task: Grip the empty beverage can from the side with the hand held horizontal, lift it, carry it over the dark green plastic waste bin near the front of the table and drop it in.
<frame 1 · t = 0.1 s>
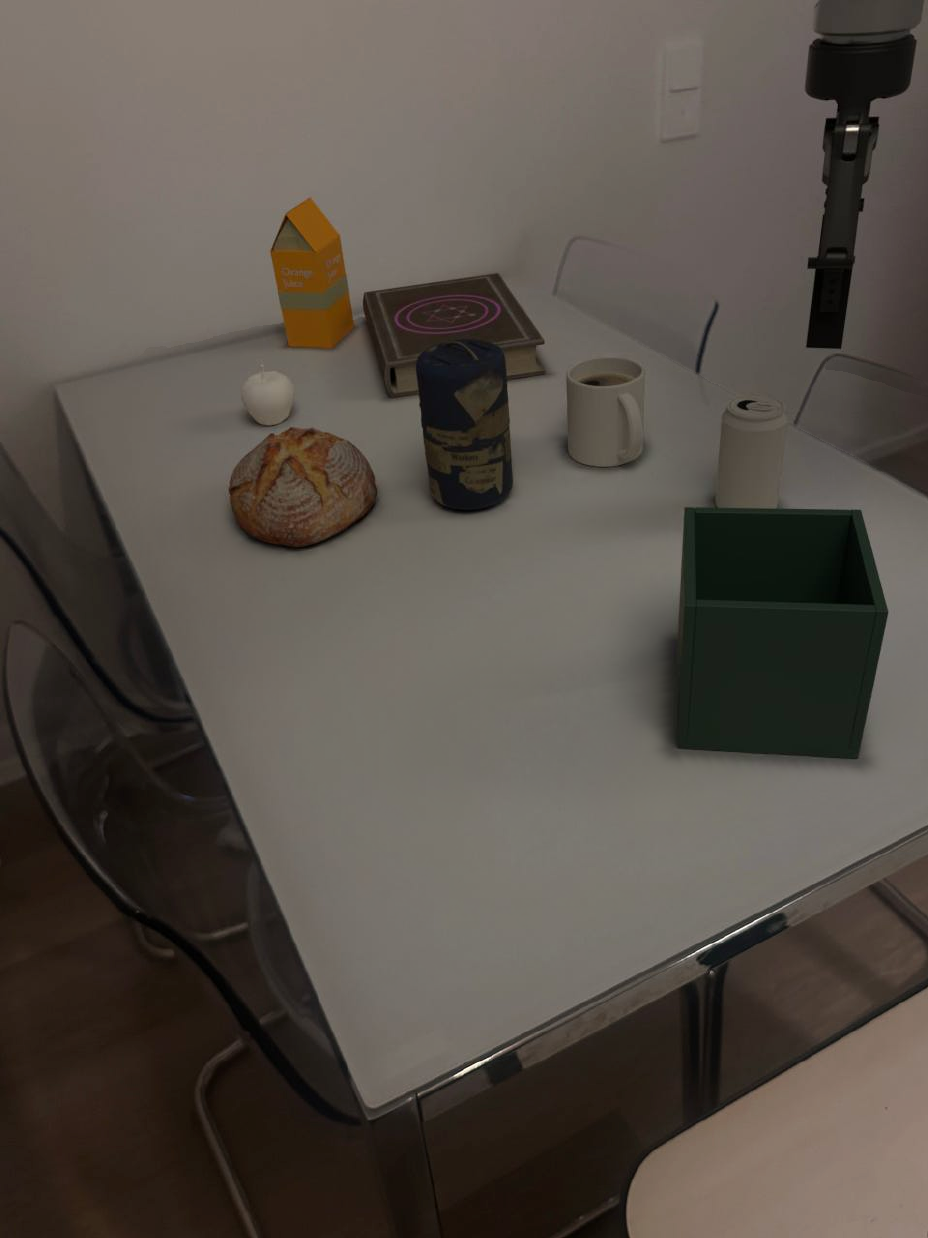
hand: (826, 316, 87), 23 cm above the table, tool pointing down, fingers open, 13 cm apart
canister: (472, 496, 114), on the table
beverage can: (745, 510, 107), on the table
orange juice: (322, 337, 159), on the table
waste bin: (760, 696, 83), on the table
plain white apple: (273, 420, 135), on the table
book: (449, 348, 151), on the table
bread: (307, 509, 115), on the table
mug: (606, 455, 119), on the table
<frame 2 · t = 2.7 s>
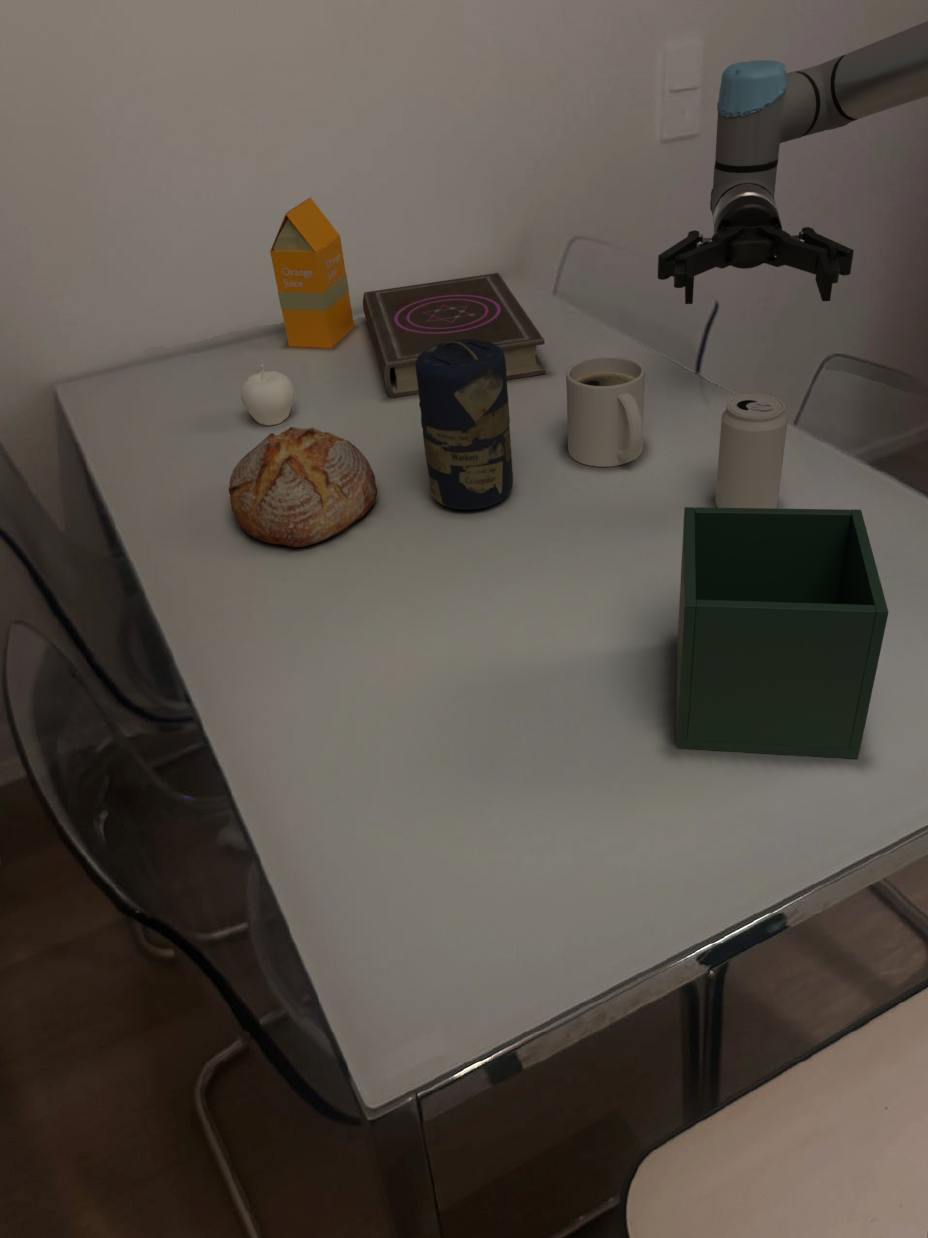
hand: (757, 289, 102), 20 cm above the table, tool horizontal, fingers open, 13 cm apart
nothing on the table moved.
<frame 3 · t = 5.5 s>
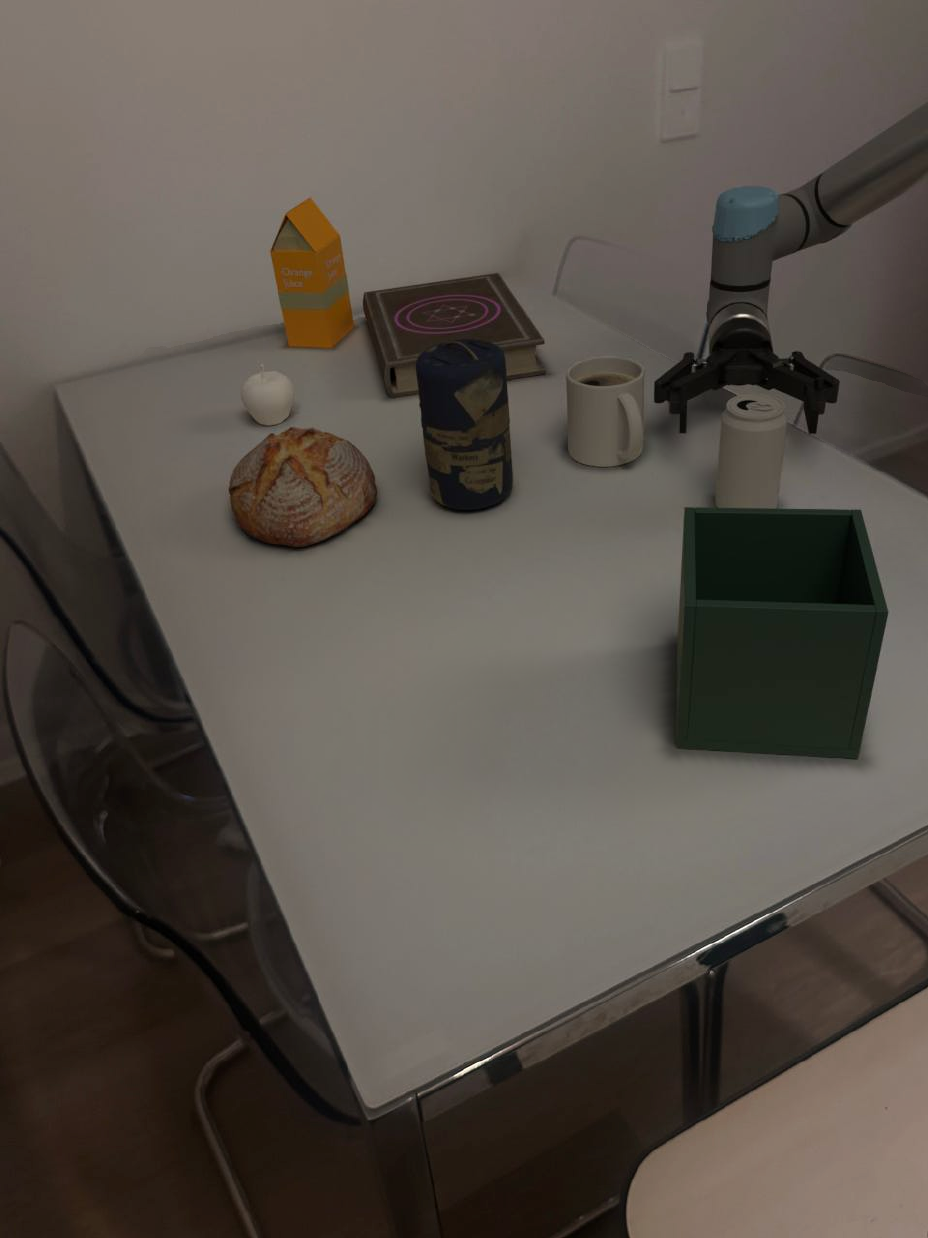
hand: (747, 422, 108), 7 cm above the table, tool horizontal, fingers open, 13 cm apart
nothing on the table moved.
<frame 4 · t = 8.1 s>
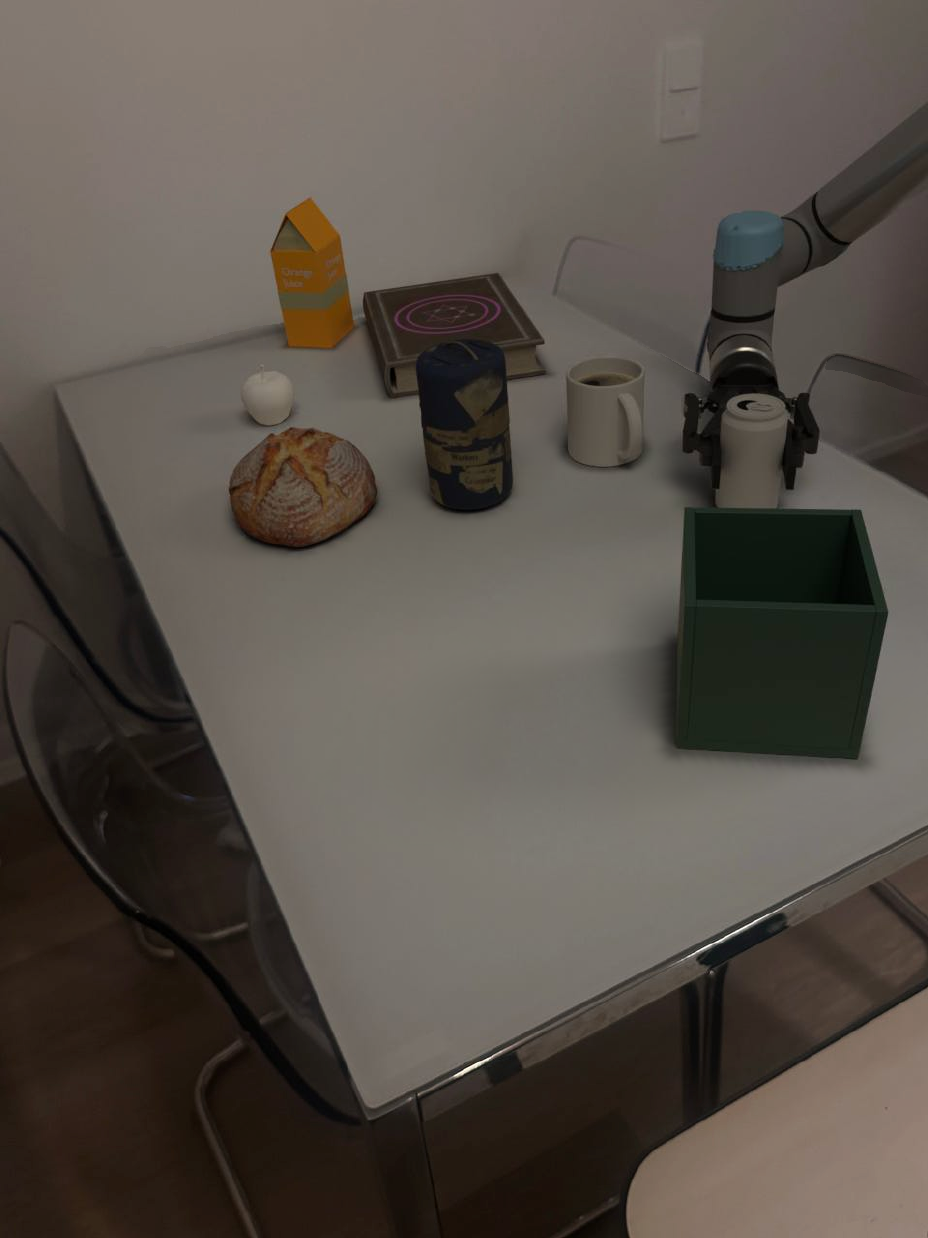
hand: (753, 477, 99), 7 cm above the table, tool horizontal, fingers closed on beverage can, 6 cm apart
beverage can: (745, 510, 107), on the table, touching gripper
everything else where it was.
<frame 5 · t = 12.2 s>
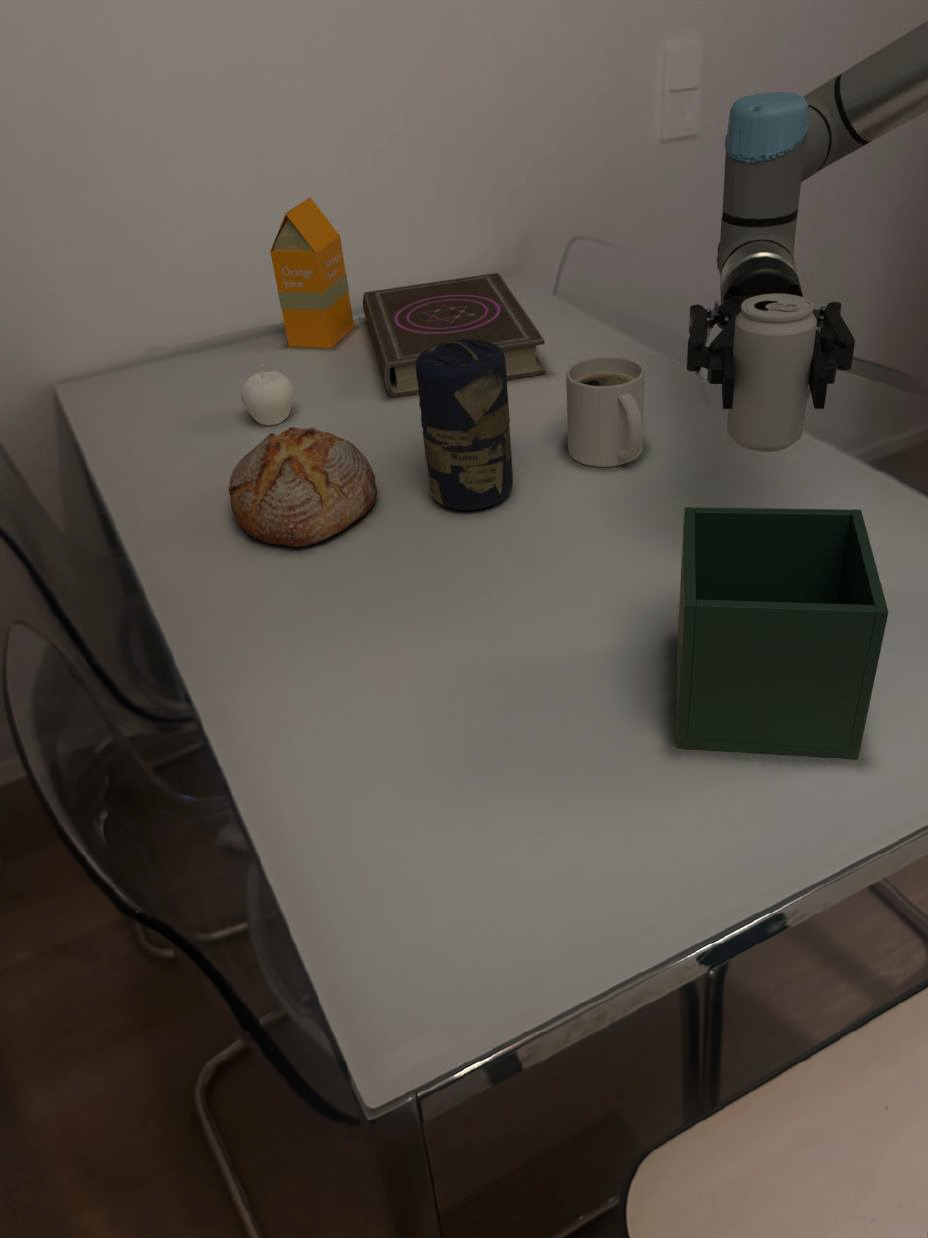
hand: (774, 393, 80), 21 cm above the table, tool horizontal, fingers closed on beverage can, 6 cm apart
beverage can: (763, 440, 88), point 15 cm above the table, touching gripper
everything else where it was.
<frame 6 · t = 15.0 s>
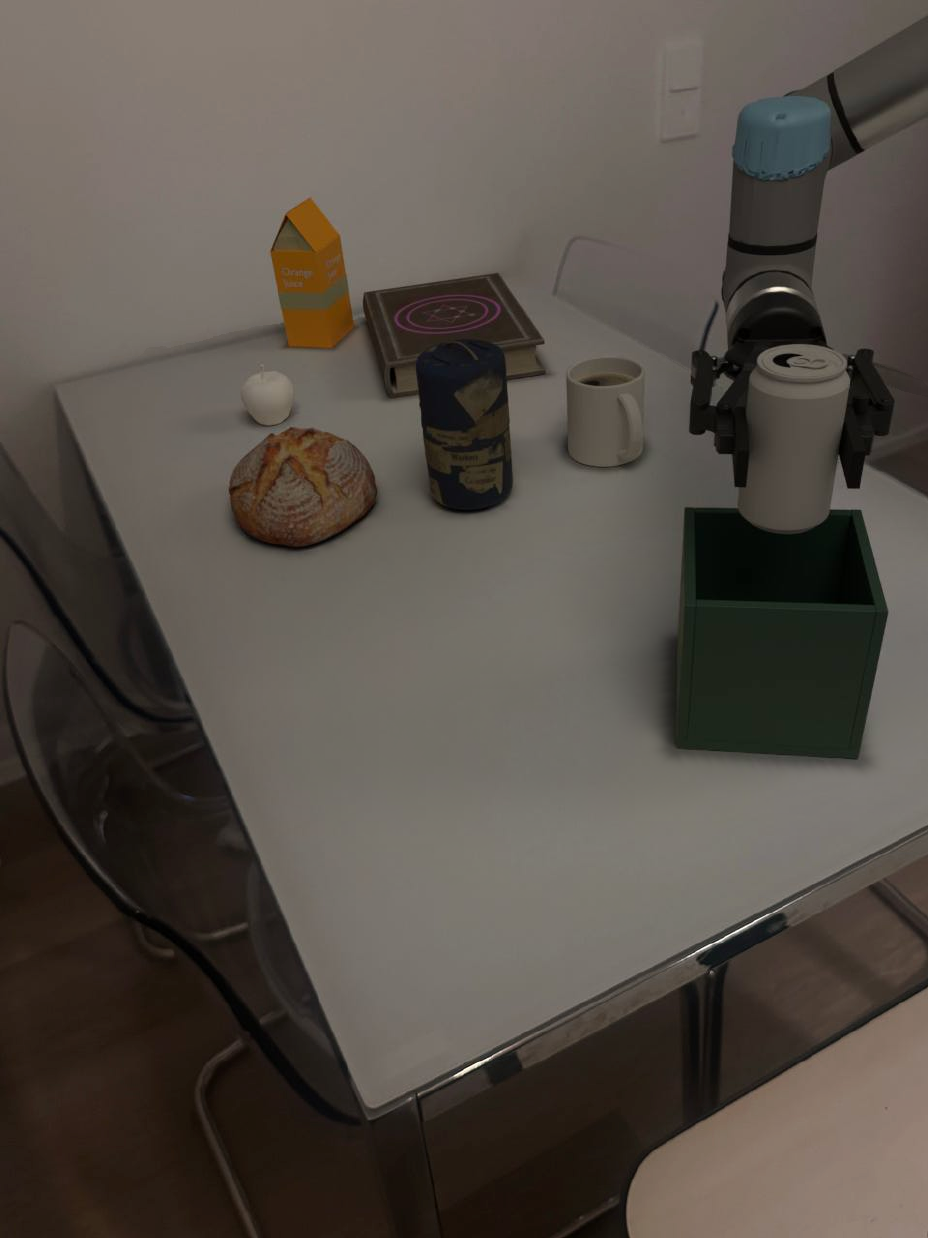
hand: (798, 469, 65), 24 cm above the table, tool horizontal, fingers closed on beverage can, 6 cm apart
beverage can: (781, 518, 73), point 17 cm above the table, touching gripper
everything else where it was.
when the fingers open (20 cm above the table, at t = 16.5 s): beverage can drops 12 cm, resting on waste bin.
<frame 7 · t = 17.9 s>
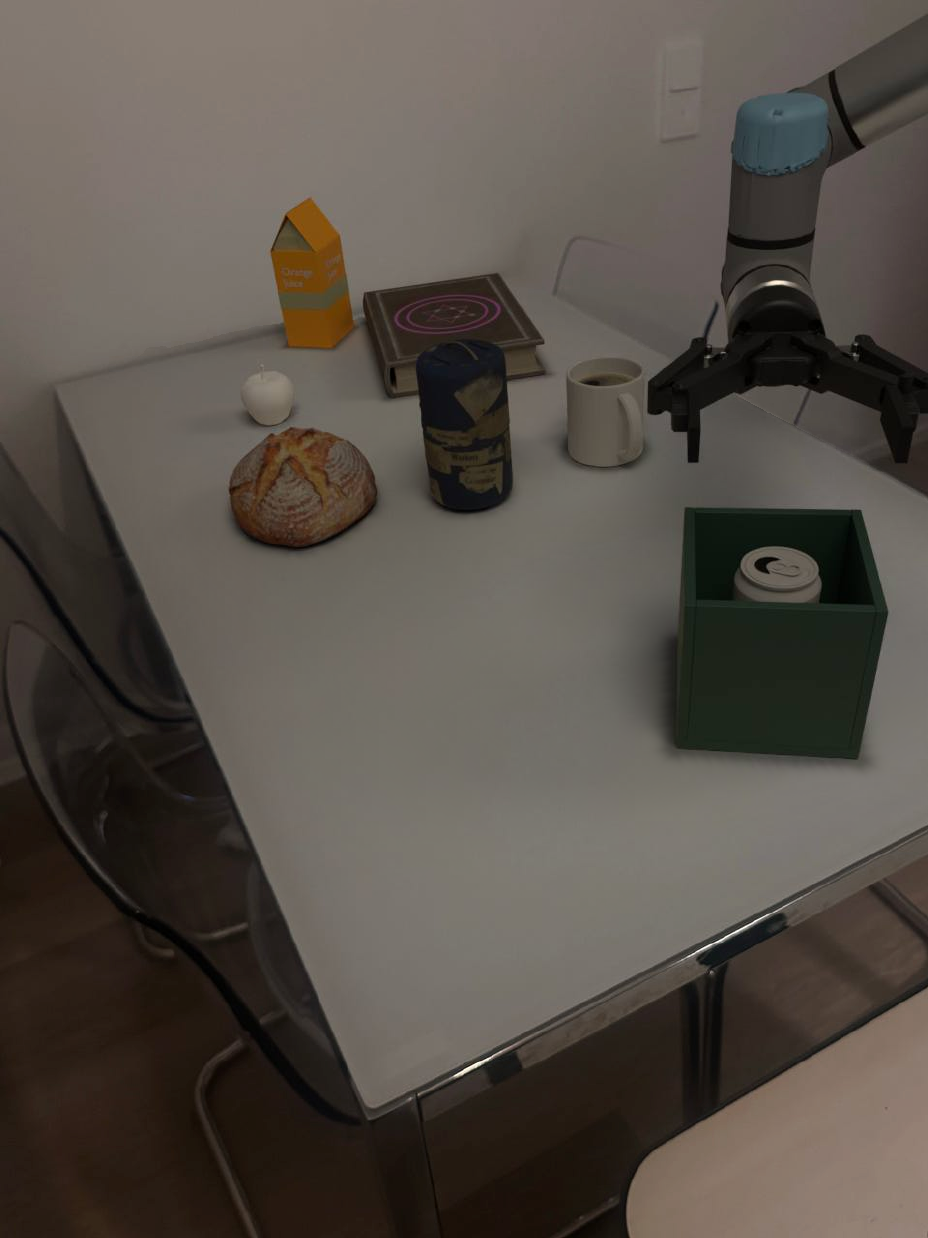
hand: (797, 445, 67), 24 cm above the table, tool horizontal, fingers open, 13 cm apart
beverage can: (764, 688, 83), point 1 cm above the table, touching waste bin
everything else where it was.
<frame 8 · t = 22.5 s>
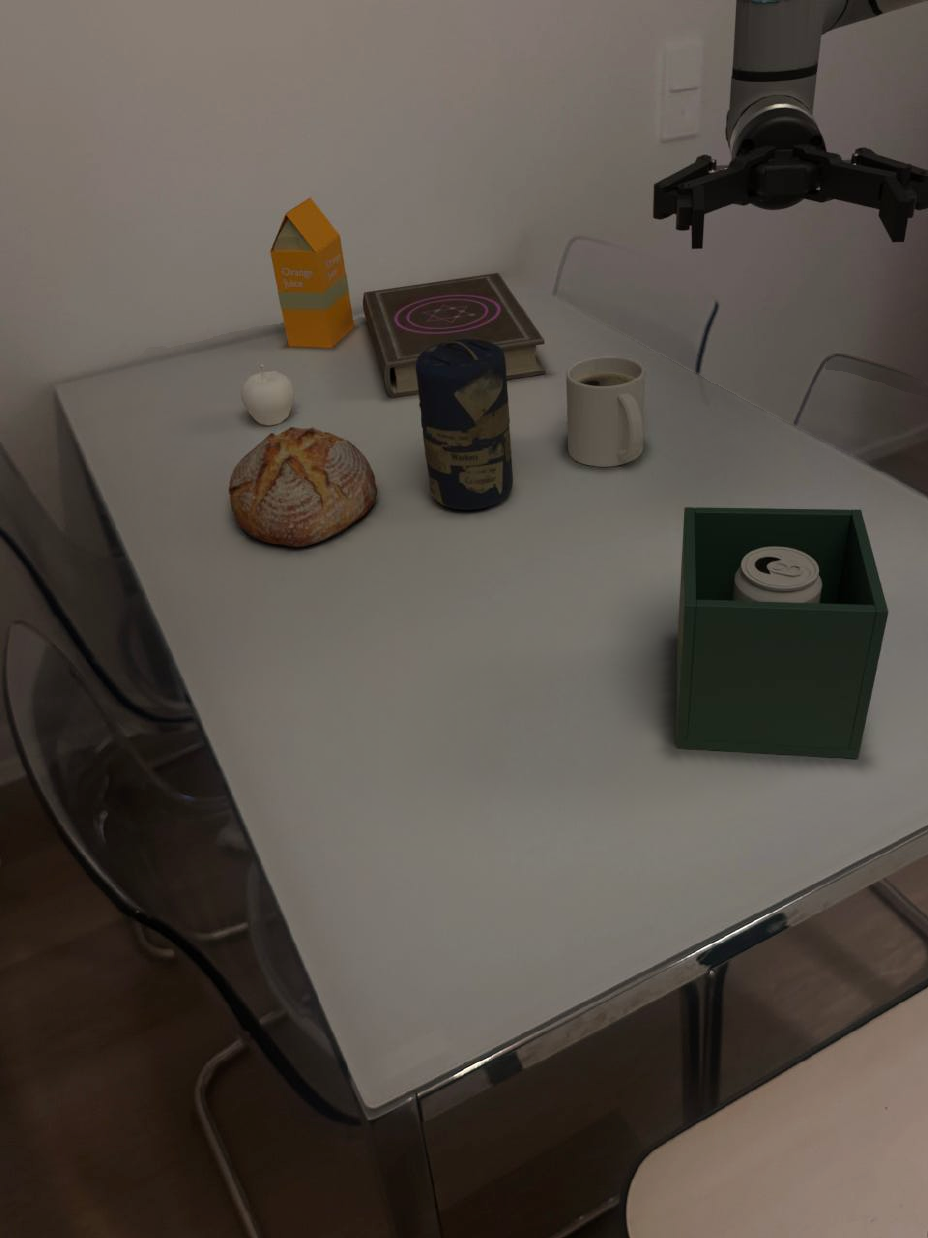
hand: (798, 225, 70), 35 cm above the table, tool horizontal, fingers open, 13 cm apart
nothing on the table moved.
at the end: beverage can inside the target area in the waste bin (0.2 cm from its centre), point 0.8 cm above the waste bin's base; the gripper is holding nothing; beverage can moved 30.2 cm from its start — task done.
